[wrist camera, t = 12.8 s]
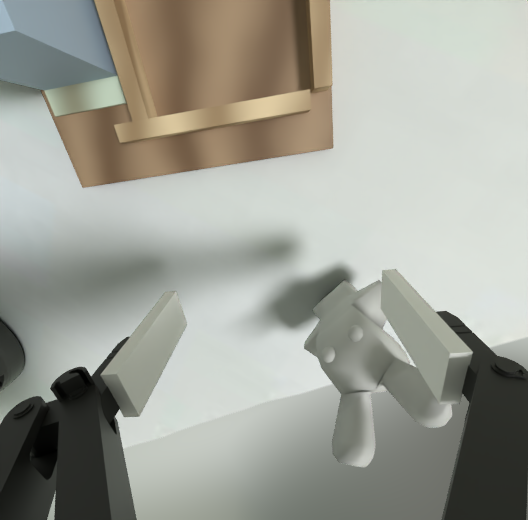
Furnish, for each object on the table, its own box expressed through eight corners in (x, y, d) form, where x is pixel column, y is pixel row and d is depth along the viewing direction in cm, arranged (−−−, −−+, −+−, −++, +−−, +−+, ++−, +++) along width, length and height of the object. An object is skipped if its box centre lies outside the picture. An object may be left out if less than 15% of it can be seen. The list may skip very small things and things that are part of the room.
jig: (91, 185, 23) (67, 191, 21) (-38, -124, 16) (-103, -181, 13) (330, 148, 21) (338, 148, 19) (316, -233, 14) (326, -328, 11)
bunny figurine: (321, 332, 29) (361, 493, 16) (288, 308, 28) (300, 460, 15) (385, 278, 26) (505, 423, 13) (352, 249, 25) (443, 373, 11)
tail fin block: (44, 90, 19) (-99, 56, 12) (11, 13, 17) (-181, -83, 10) (117, 75, 18) (15, 30, 11) (91, -6, 17) (-51, -123, 9)
